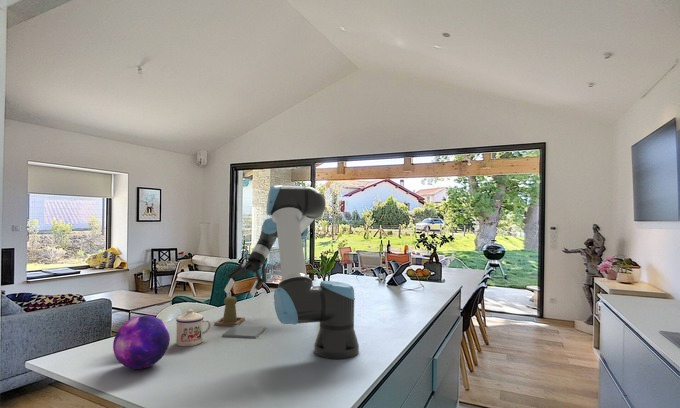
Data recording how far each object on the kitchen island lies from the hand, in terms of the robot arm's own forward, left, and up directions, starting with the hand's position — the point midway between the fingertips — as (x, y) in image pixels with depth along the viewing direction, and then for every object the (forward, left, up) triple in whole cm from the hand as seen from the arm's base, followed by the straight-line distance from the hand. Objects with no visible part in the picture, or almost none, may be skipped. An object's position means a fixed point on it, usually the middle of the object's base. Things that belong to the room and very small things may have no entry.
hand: (238, 293), depth 169 cm
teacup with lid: (-33, +4, -12) cm, 35 cm away
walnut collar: (-7, +1, -11) cm, 13 cm away
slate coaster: (-19, -10, -11) cm, 24 cm away
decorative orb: (-57, +8, -12) cm, 58 cm away
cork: (-7, +1, -12) cm, 13 cm away
